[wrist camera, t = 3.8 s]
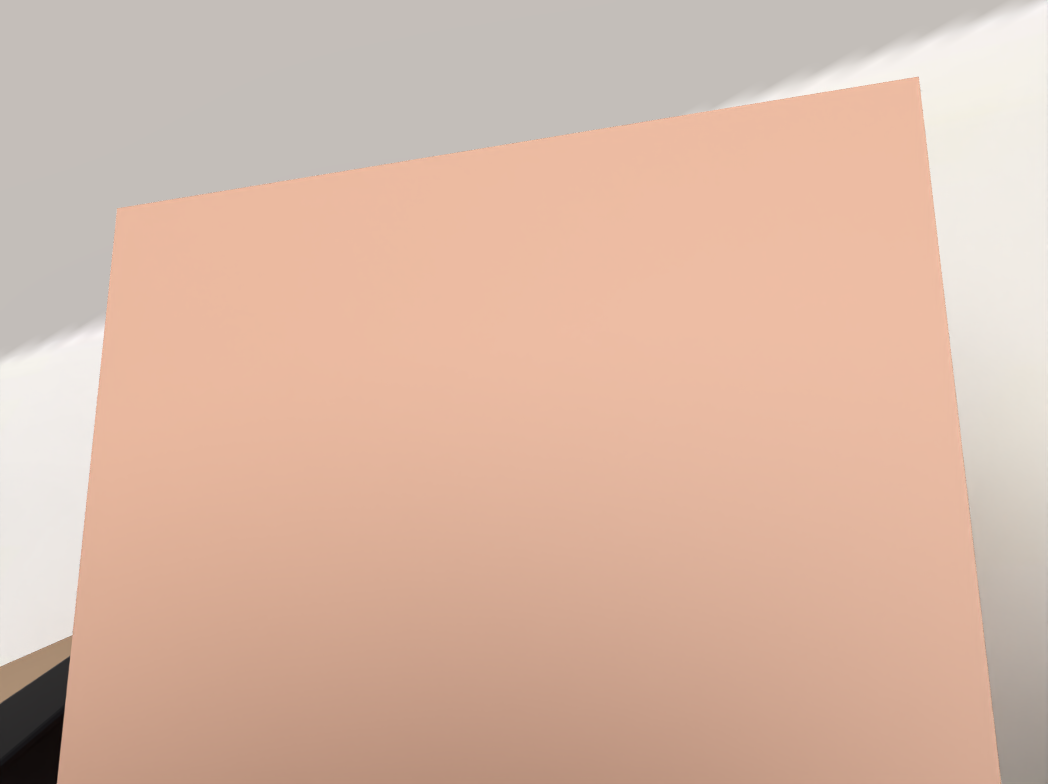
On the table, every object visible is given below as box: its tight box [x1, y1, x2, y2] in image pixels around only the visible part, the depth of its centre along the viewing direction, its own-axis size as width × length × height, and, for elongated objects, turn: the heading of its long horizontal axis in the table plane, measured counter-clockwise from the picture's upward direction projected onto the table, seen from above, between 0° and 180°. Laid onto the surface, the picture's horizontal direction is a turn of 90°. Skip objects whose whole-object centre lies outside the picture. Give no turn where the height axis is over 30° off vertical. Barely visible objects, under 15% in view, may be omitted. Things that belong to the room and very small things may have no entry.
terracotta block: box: [57, 77, 1001, 784], centre depth 11 cm, size 5×5×12 cm
